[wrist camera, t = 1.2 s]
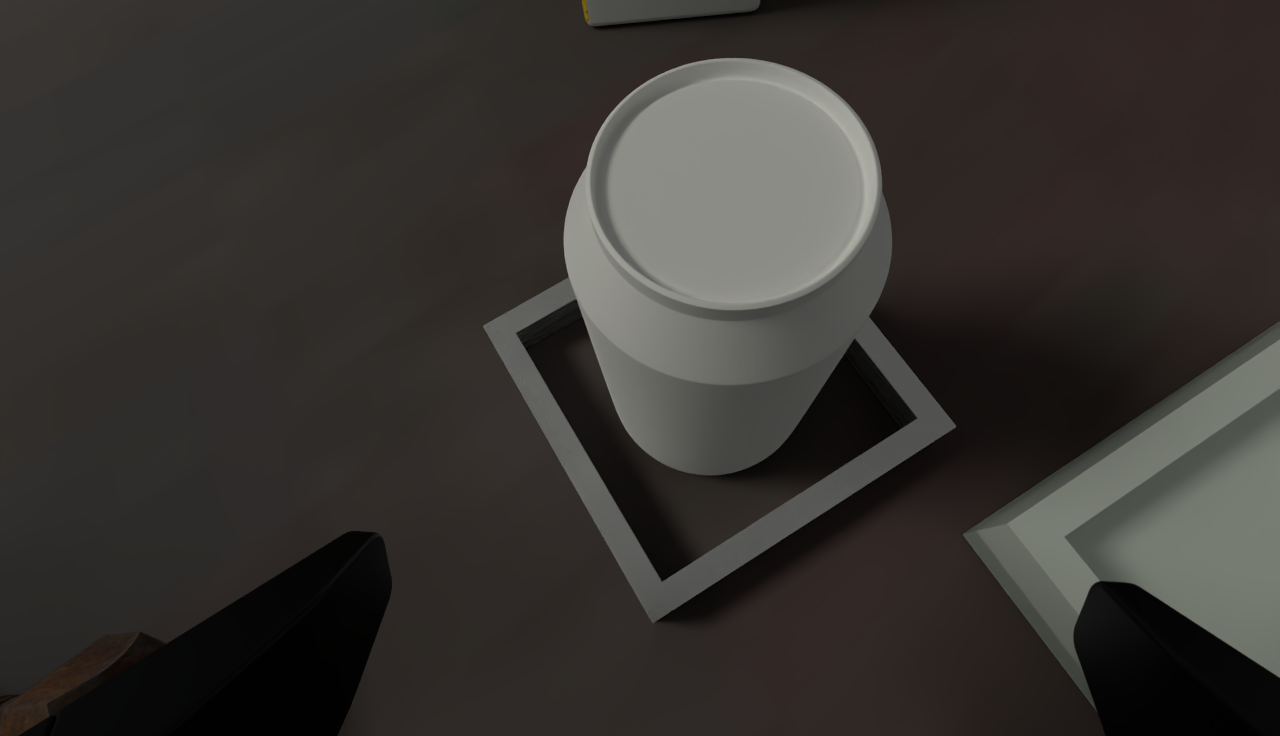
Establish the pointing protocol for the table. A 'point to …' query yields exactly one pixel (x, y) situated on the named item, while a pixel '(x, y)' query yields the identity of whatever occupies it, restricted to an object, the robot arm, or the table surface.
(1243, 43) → the table surface
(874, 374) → the grey square frame
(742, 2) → the medicine bottle
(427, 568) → the table surface
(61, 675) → the bolt
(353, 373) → the table surface
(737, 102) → the beverage can
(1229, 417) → the tray
